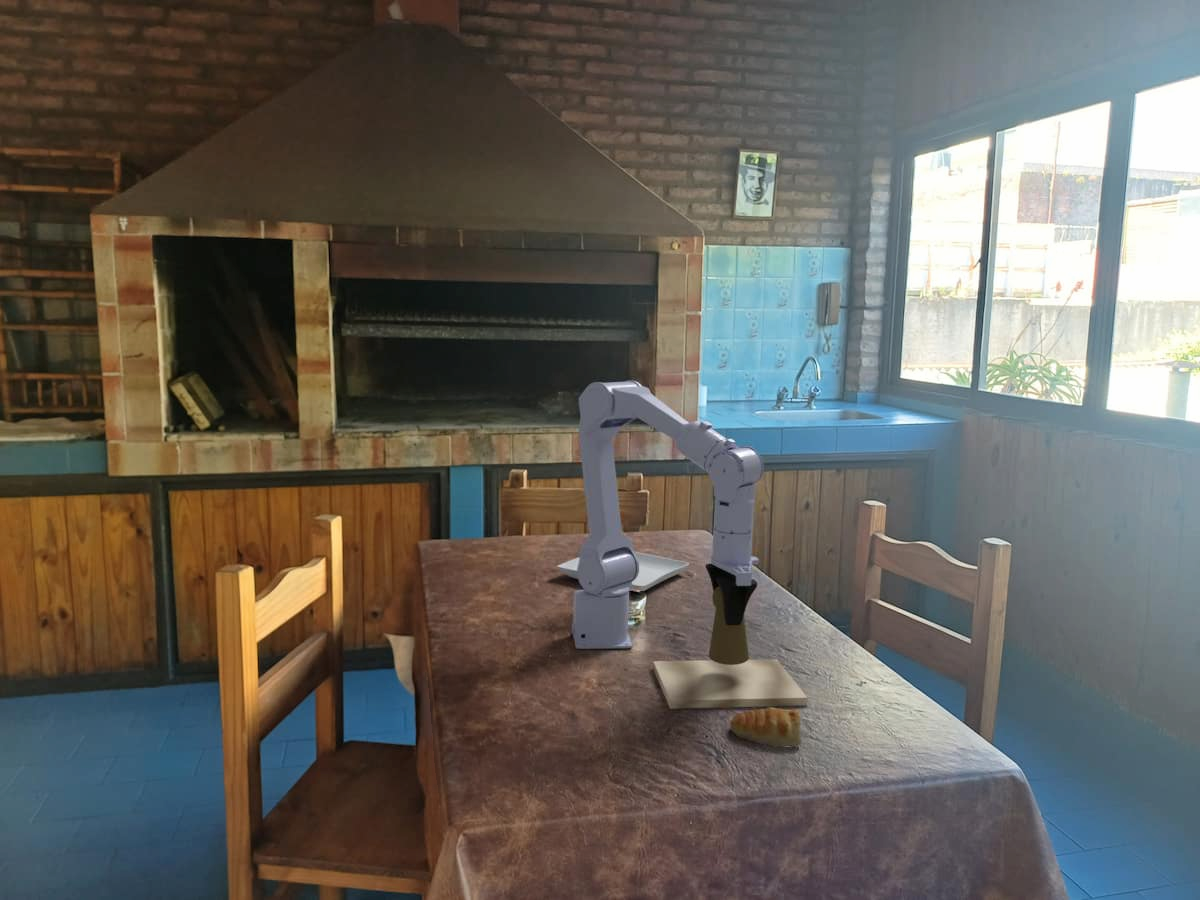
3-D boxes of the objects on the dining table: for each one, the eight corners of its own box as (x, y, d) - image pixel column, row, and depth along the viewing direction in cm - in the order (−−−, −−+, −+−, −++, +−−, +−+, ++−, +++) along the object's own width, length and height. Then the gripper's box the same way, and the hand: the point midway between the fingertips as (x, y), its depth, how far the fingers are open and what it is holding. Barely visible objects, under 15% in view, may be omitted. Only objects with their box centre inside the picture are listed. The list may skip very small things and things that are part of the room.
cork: (705, 648, 132) (706, 580, 130) (744, 647, 132) (745, 579, 130) (712, 665, 126) (713, 594, 124) (753, 664, 126) (754, 593, 124)
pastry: (730, 744, 111) (731, 717, 111) (729, 721, 118) (731, 695, 117) (803, 751, 110) (805, 723, 109) (799, 728, 117) (801, 701, 116)
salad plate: (690, 576, 185) (691, 560, 185) (642, 601, 167) (642, 584, 167) (607, 559, 196) (608, 545, 196) (554, 581, 178) (554, 565, 178)
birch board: (670, 708, 121) (670, 700, 120) (653, 668, 134) (653, 661, 134) (806, 705, 123) (807, 697, 123) (776, 666, 137) (776, 659, 136)
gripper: (774, 542, 119) (768, 635, 121) (745, 518, 134) (741, 601, 136) (725, 542, 118) (720, 635, 121) (701, 517, 133) (697, 601, 135)
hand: (728, 617), depth 128 cm, fingers closed on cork, 5 cm apart
